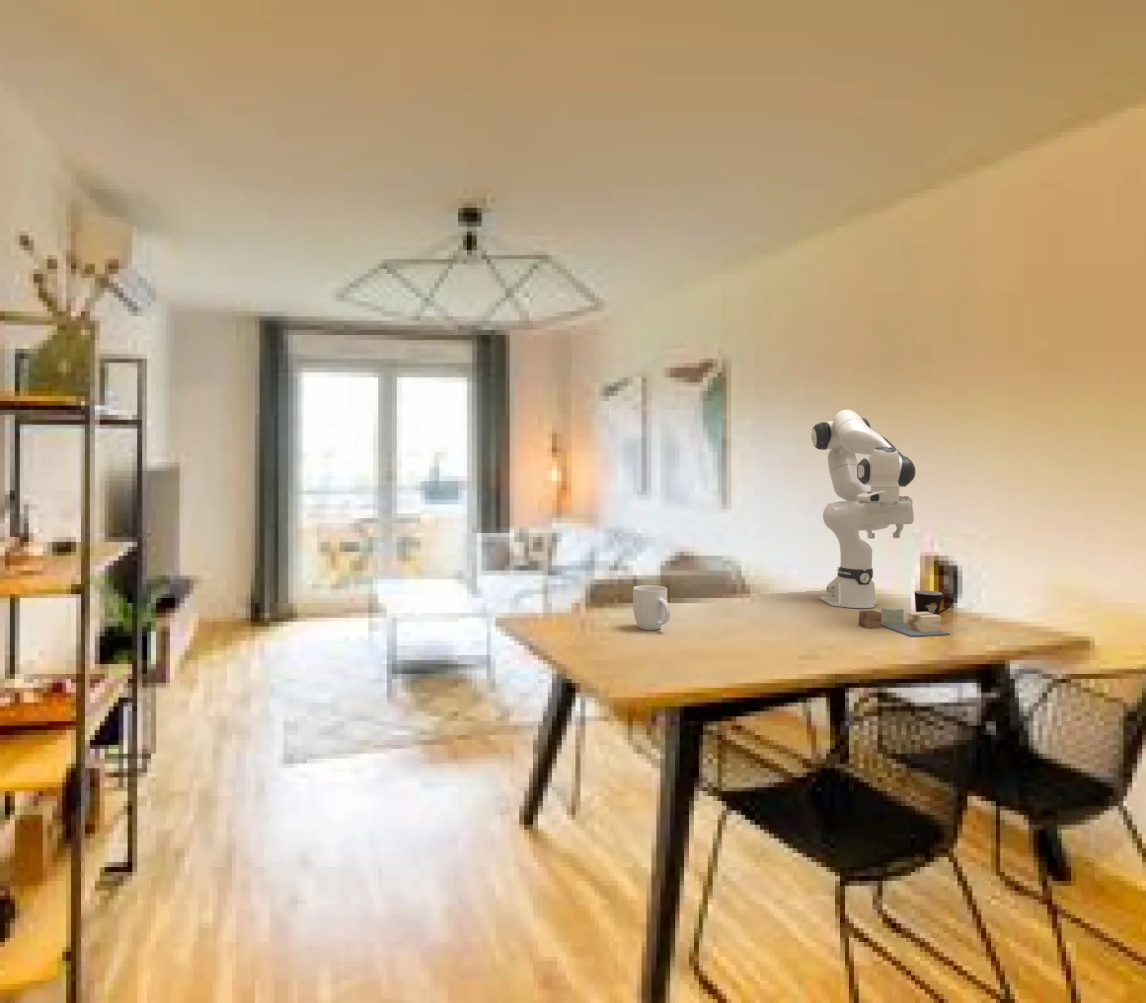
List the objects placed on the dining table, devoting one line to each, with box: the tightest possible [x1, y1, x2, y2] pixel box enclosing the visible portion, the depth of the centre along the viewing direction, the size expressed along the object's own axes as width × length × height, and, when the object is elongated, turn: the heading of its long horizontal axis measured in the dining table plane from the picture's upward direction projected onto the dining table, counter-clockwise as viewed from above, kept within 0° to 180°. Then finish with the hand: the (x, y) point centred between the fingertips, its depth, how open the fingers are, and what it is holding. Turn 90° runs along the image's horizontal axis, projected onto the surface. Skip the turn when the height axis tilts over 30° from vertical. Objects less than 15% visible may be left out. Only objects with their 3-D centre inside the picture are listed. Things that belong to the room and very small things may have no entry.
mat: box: [881, 622, 951, 638], centre depth 266 cm, size 16×14×1 cm
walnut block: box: [858, 609, 882, 630], centre depth 271 cm, size 5×5×5 cm
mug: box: [632, 584, 671, 631], centre depth 264 cm, size 15×11×13 cm
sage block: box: [880, 606, 905, 624], centre depth 277 cm, size 5×5×5 cm
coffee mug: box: [914, 589, 953, 616], centre depth 279 cm, size 12×9×10 cm
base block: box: [907, 611, 942, 633], centre depth 264 cm, size 7×7×5 cm
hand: (883, 538), depth 271 cm, fingers open, 8 cm apart
